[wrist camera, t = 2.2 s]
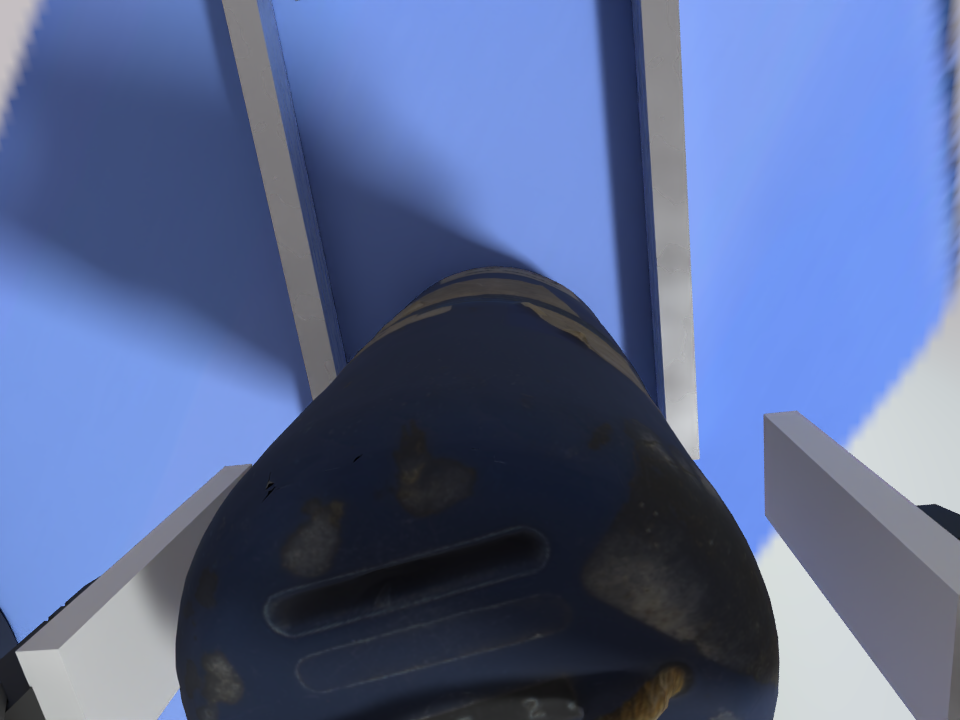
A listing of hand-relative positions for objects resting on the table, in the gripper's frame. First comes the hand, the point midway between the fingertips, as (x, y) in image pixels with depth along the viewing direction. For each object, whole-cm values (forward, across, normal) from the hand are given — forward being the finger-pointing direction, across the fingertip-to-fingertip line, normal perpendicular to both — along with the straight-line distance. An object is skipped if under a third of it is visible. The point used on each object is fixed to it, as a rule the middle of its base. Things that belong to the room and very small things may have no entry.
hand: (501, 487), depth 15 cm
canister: (+10, 0, 0) cm, 10 cm away
